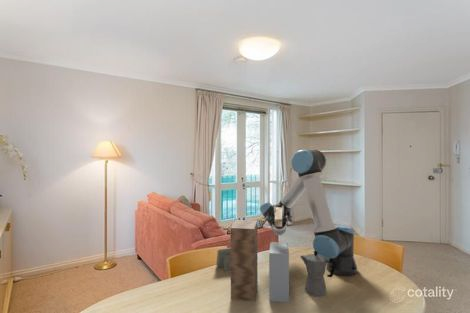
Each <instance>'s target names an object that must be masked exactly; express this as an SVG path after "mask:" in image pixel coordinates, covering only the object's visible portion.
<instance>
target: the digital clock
mask: <svg viewBox="0 0 470 313" xmlns="http://www.w3.org/2000/svg"><path fill="white" fill-rule="evenodd" d="M216 267H218V268H221V267H223V268H224V270H225V271H229V270H230V271H231V247H223V248H219V249H218V250H217V254H216Z"/></svg>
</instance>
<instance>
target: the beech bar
mask: <svg viewBox="0 0 470 313" xmlns="http://www.w3.org/2000/svg"><path fill="white" fill-rule="evenodd" d="M275 226H276V227H282V207H276V211H275Z"/></svg>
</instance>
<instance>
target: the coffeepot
mask: <svg viewBox="0 0 470 313" xmlns="http://www.w3.org/2000/svg"><path fill="white" fill-rule="evenodd" d="M300 259H301V260H302V261H303V262H304V265H305V268H306V272H307V276H306V282H305V286H304V290H305V292H306V294H308V295H309V296H312V297H317V298H318V297H323V296H325V295H326V294H327V293H328V292H327V287H326V286H327V285H326V282H325V277H324V275H325V273H326V269H327V268H326V263H333V265H332V269H331V271H329V274H326V277H327V278H333V275H334V271H335V268H336V266H337V262H336V261H335V260H334V259H333V258H325V257H324V256H322V255H318V254H317V251H315V250H313V254H312V253H309V254H306V255H301V256H300Z"/></svg>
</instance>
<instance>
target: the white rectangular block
mask: <svg viewBox="0 0 470 313" xmlns="http://www.w3.org/2000/svg"><path fill="white" fill-rule="evenodd" d="M269 243H270V244H269V252H268V268H269V269H268V275H269V276H268V282H269V284H268V287H269V288H268V290H269V291H268V292H269V293H268V299H269V300H268V302H275V303H290V274H289V273H290V250H289V243H288V242H275V241H272V242H269Z"/></svg>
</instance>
